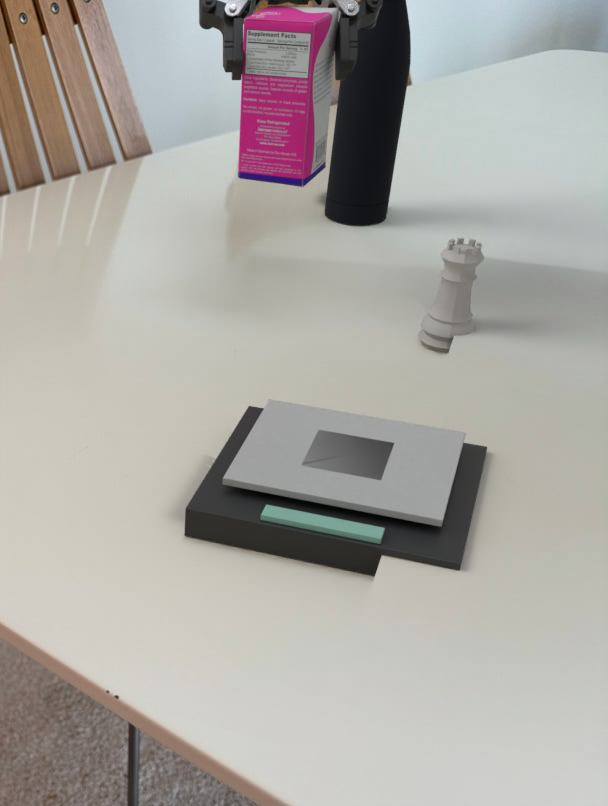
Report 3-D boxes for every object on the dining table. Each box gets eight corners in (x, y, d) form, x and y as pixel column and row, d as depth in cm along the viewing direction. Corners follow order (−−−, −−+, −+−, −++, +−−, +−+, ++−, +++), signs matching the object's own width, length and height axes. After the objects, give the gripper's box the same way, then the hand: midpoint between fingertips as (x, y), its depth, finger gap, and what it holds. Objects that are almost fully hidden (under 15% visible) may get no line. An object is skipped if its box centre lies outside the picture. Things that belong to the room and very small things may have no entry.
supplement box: (258, 160, 88) (270, 2, 80) (326, 168, 86) (344, 7, 78) (233, 178, 84) (242, 14, 76) (303, 188, 82) (320, 20, 74)
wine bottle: (313, 218, 108) (354, -143, 89) (340, 202, 112) (385, -146, 93) (370, 230, 106) (425, -140, 86) (396, 213, 110) (454, -143, 90)
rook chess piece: (474, 356, 83) (498, 255, 77) (417, 352, 83) (436, 251, 78) (470, 334, 86) (492, 235, 81) (415, 329, 87) (433, 231, 81)
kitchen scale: (480, 473, 69) (491, 432, 67) (453, 592, 59) (464, 549, 57) (246, 431, 73) (249, 391, 71) (184, 536, 63) (185, 493, 61)
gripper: (198, -169, 77) (198, 41, 75) (393, -171, 77) (397, 40, 75) (193, -89, 84) (193, 104, 83) (371, -90, 84) (374, 103, 83)
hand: (290, 73), depth 79 cm, fingers closed on supplement box, 7 cm apart
